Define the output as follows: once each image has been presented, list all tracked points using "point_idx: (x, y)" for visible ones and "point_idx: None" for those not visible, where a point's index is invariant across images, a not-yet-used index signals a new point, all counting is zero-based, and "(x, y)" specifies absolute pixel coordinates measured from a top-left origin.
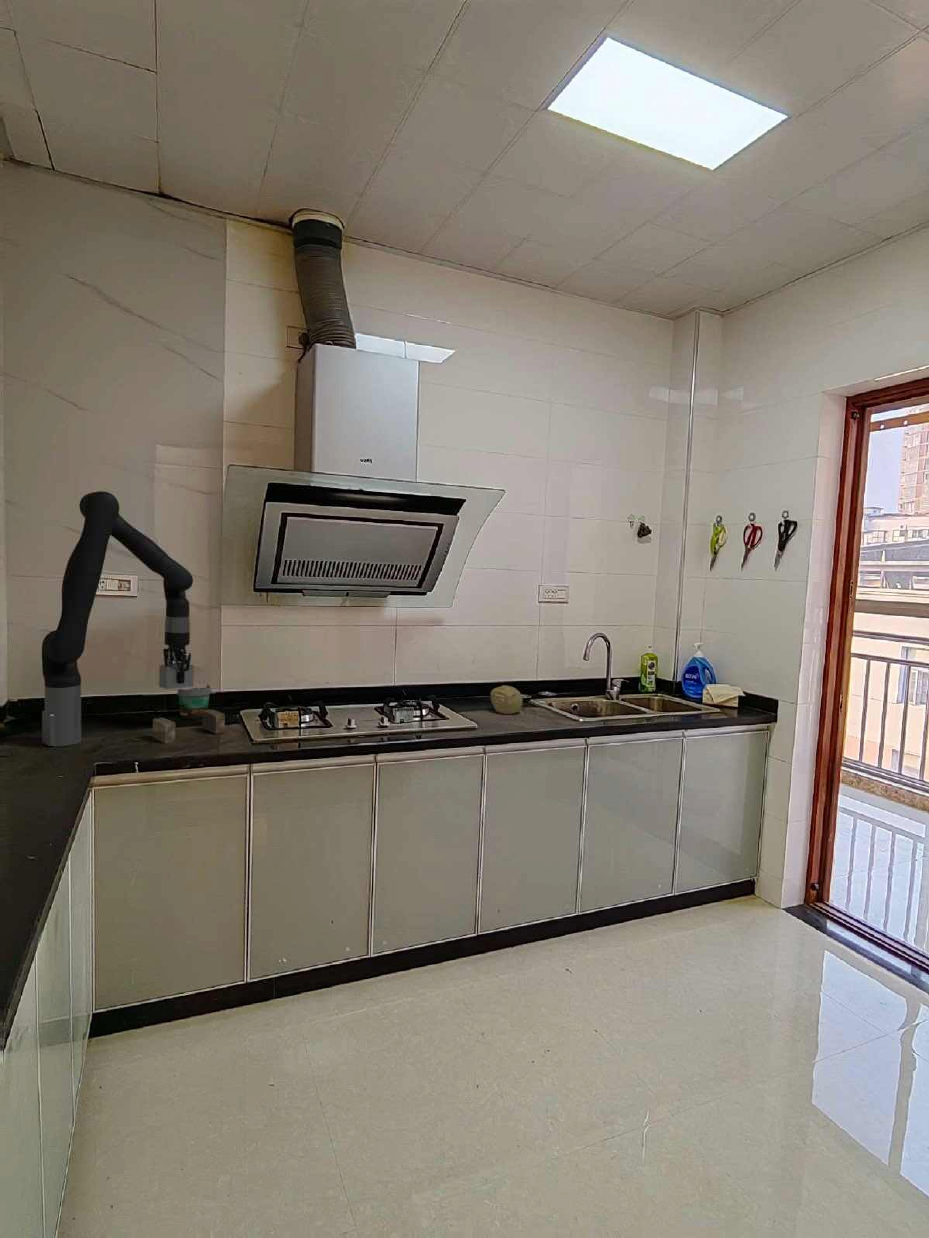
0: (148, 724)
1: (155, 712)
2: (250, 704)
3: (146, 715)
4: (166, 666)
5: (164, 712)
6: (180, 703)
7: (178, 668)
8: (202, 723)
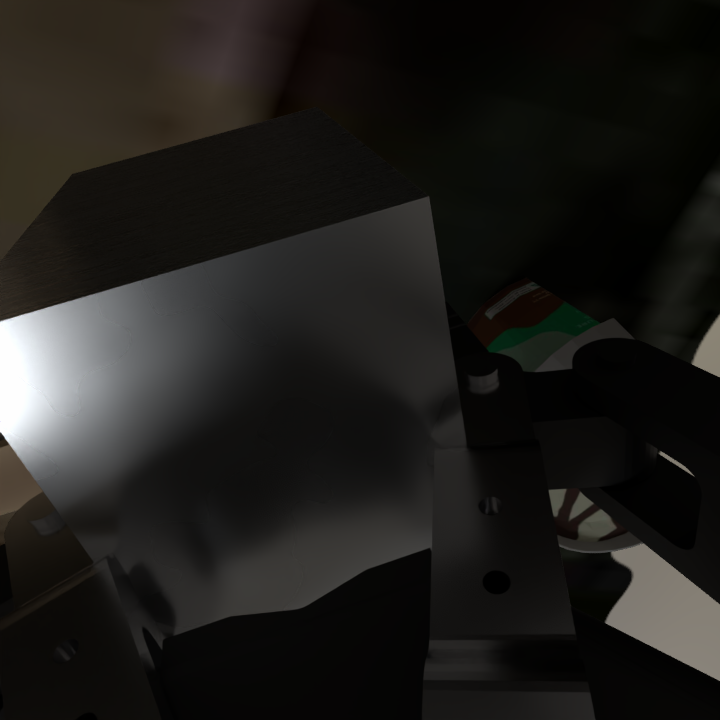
0: (417, 16)
1: (716, 152)
2: (576, 596)
3: (680, 73)
4: (151, 348)
5: (681, 206)
6: (562, 312)
7: (23, 556)
8: None
